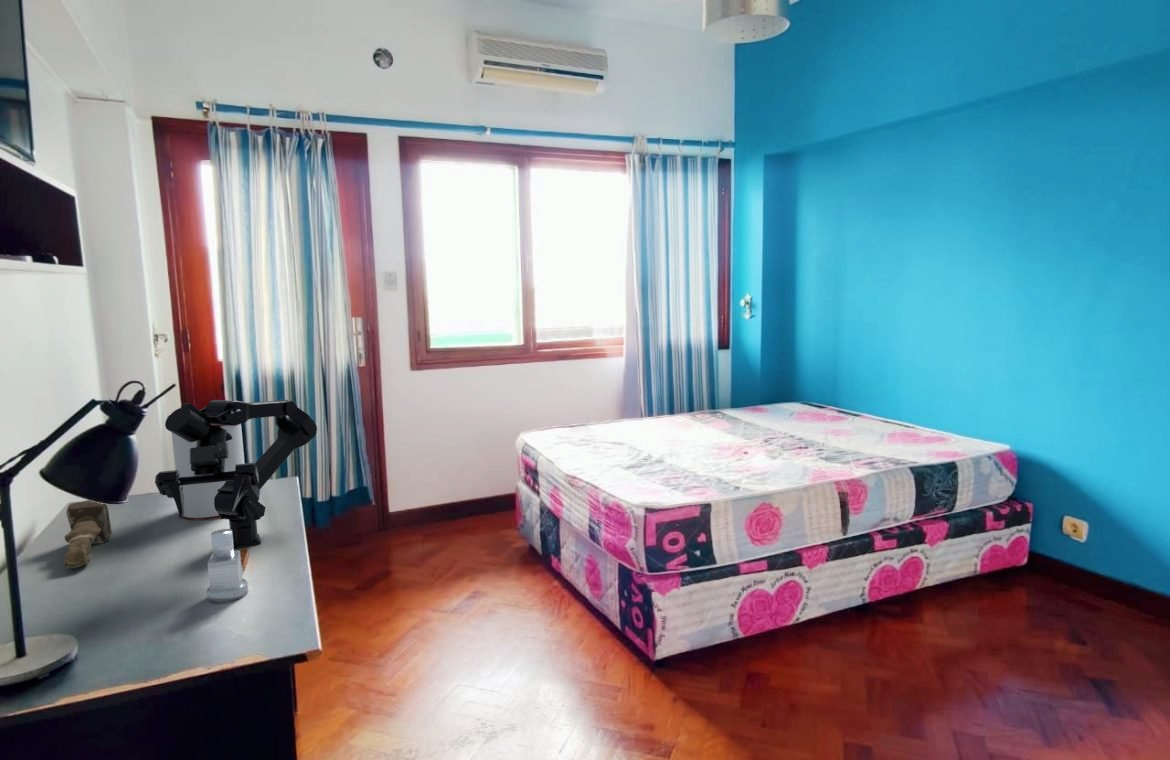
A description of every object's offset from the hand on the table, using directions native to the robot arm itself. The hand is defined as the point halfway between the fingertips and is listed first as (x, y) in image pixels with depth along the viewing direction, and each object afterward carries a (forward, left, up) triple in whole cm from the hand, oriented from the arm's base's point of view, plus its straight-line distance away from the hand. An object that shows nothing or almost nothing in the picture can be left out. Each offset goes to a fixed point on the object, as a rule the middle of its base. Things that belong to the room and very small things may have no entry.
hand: (206, 514), depth 136 cm
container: (-49, +2, -14) cm, 51 cm away
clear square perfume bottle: (+12, +2, -12) cm, 17 cm away
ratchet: (+4, +4, -14) cm, 15 cm away
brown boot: (-30, -24, -14) cm, 41 cm away
